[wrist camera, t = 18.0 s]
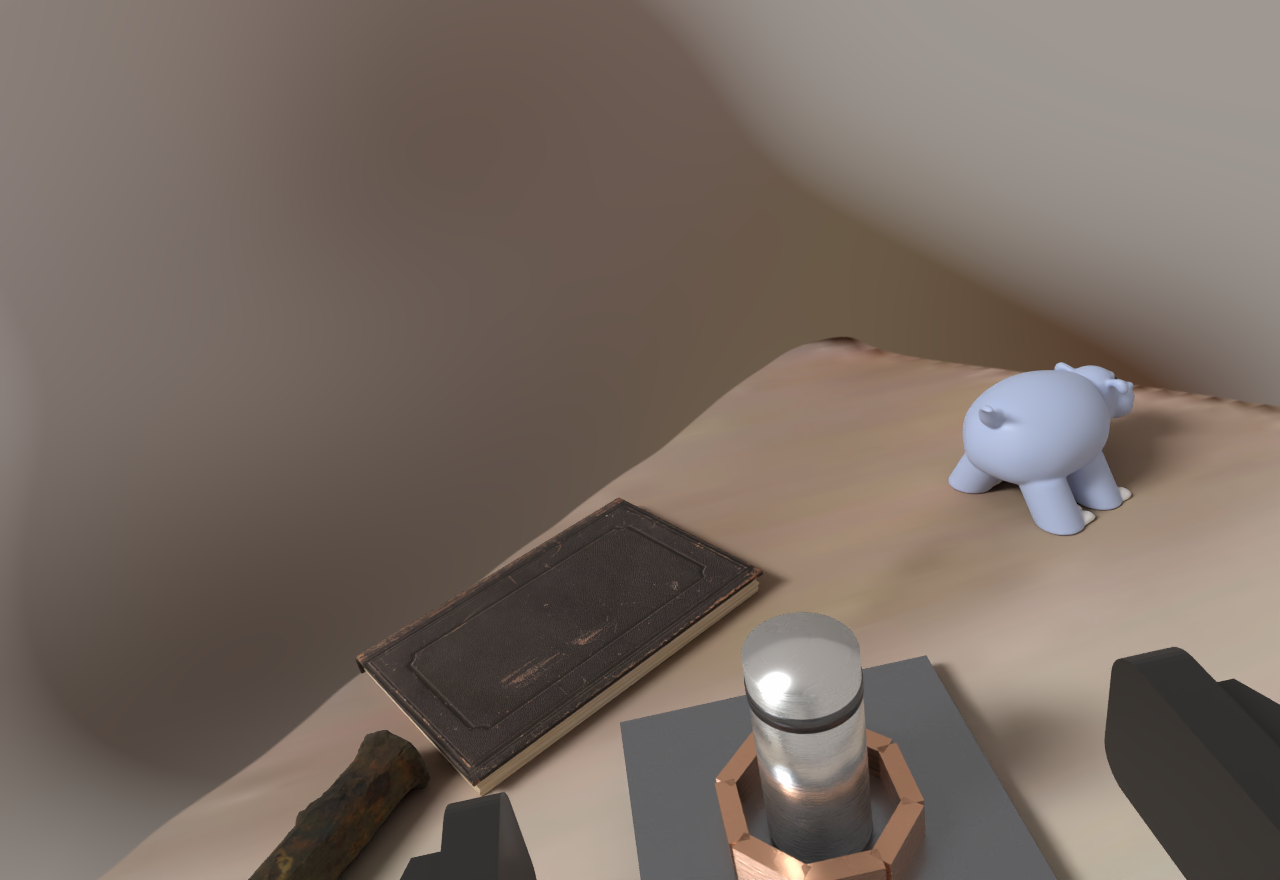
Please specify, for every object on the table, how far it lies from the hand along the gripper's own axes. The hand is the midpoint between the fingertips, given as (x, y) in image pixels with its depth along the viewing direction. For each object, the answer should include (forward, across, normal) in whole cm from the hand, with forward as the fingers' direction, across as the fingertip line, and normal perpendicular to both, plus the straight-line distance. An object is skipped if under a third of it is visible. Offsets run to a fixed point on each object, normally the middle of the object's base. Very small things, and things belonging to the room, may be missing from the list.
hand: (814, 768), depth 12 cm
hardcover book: (+41, +8, +31) cm, 52 cm away
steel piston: (+21, -4, +29) cm, 36 cm away
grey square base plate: (+21, -4, +30) cm, 37 cm away
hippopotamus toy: (+46, -28, +30) cm, 62 cm away
